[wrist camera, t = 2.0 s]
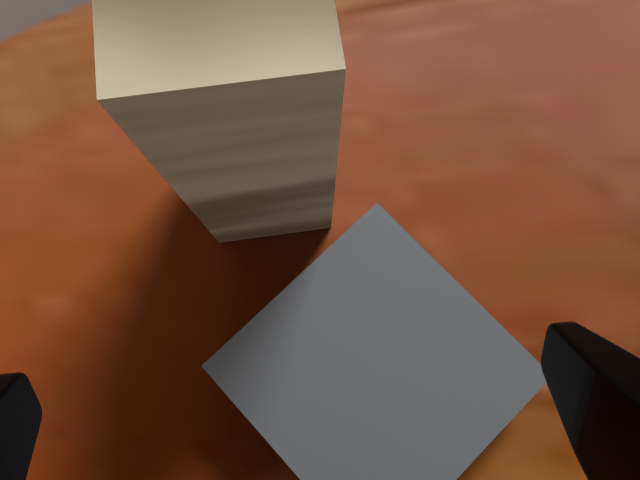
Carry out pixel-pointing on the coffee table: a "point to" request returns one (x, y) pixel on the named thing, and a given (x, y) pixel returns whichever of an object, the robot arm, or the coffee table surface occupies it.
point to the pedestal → (376, 364)
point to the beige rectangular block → (229, 104)
